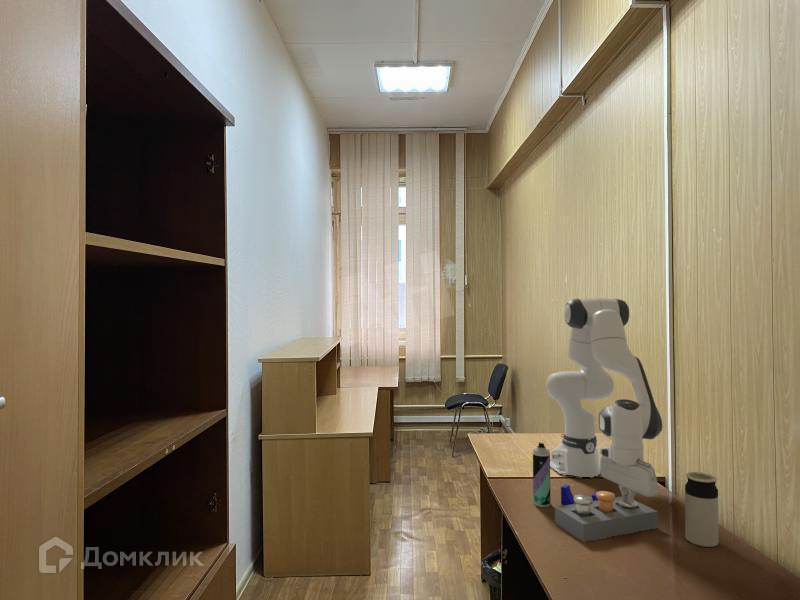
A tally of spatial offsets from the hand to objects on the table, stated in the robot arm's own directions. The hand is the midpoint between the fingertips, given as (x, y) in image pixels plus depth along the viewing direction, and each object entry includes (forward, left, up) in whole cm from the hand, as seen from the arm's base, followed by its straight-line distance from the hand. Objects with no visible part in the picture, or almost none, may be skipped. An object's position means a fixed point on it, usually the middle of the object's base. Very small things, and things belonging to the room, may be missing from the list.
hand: (627, 501), depth 161 cm
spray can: (-21, -16, -7) cm, 27 cm away
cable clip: (-14, -6, -7) cm, 17 cm away
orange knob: (0, -8, -3) cm, 9 cm away
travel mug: (+17, +10, -7) cm, 21 cm away
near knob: (0, -16, -3) cm, 16 cm away
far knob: (0, 0, -7) cm, 7 cm away
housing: (0, -8, -6) cm, 10 cm away
